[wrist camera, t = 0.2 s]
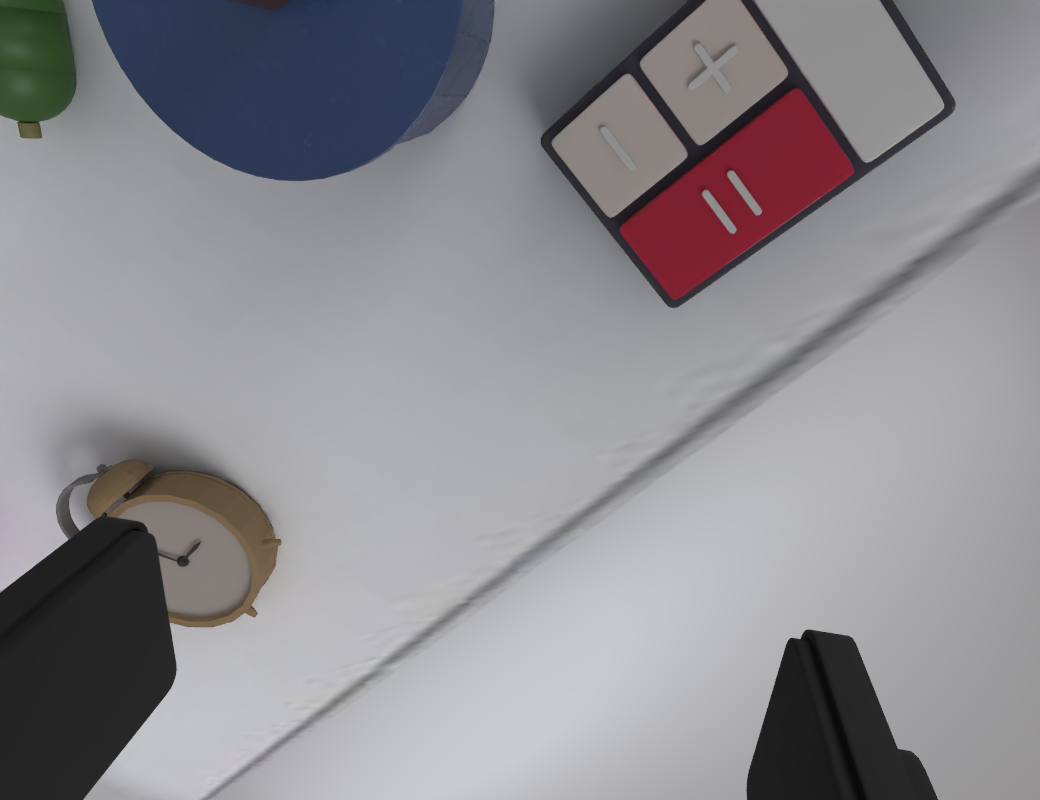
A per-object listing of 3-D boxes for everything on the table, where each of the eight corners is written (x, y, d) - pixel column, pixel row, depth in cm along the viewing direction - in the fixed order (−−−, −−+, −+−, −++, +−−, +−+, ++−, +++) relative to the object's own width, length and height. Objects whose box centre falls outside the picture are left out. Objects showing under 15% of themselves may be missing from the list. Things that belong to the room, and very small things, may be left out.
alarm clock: (243, 650, 51) (25, 589, 48) (265, 601, 55) (66, 542, 52) (282, 535, 46) (42, 460, 43) (302, 491, 50) (86, 421, 48)
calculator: (533, 141, 33) (822, -124, 27) (547, 134, 37) (804, -101, 31) (671, 317, 36) (968, 109, 29) (671, 293, 39) (934, 104, 33)
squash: (-9, -45, 37) (-102, -66, 33) (81, -39, 37) (-2, -59, 32) (26, 131, 41) (-54, 135, 36) (107, 139, 40) (37, 144, 36)
